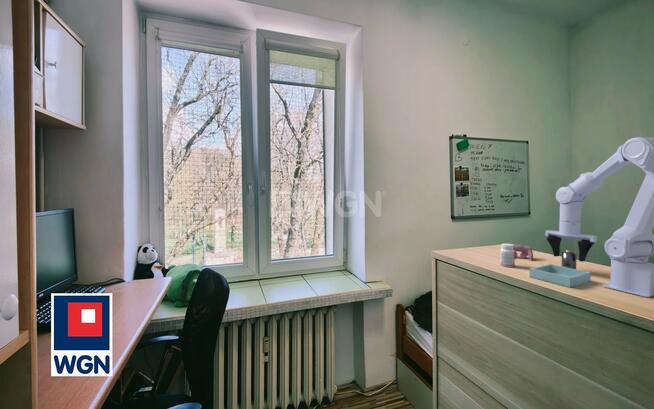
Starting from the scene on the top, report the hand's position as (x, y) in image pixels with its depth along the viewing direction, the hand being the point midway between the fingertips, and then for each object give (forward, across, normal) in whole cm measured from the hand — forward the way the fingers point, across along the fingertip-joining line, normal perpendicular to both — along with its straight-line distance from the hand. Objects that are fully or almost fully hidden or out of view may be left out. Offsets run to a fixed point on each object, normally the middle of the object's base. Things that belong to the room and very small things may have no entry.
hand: (568, 258), depth 100 cm
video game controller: (+5, +20, -4) cm, 21 cm away
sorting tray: (+5, -3, +12) cm, 13 cm away
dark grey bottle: (+5, 0, 0) cm, 5 cm away
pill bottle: (+5, +15, +11) cm, 19 cm away
